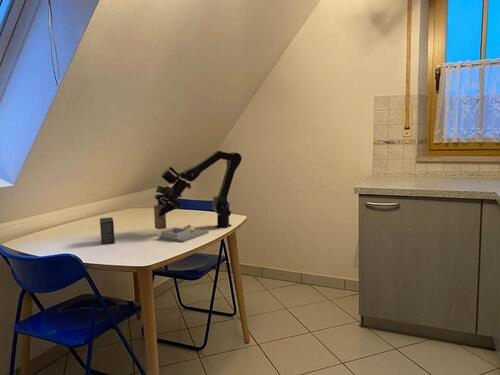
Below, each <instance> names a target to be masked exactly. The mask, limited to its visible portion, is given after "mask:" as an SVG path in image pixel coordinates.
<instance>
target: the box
mask: <svg viewBox="0 0 500 375" xmlns="http://www.w3.org/2000/svg"><path fill="white" fill-rule="evenodd" d="M113 219H114V218H113V217H112V216H111V217H102V218H101V217H100V218H99V227H100V228H99V229H100V241H101V246H102V245H103V246H104V245H113V244H115V243H116V242H115V241H116V240H115V226H114V220H113Z"/></svg>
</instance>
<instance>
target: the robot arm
mask: <svg viewBox="0 0 500 375" xmlns="http://www.w3.org/2000/svg"><path fill="white" fill-rule="evenodd" d="M242 159H243V156H242V155H241V154H240V153H238V152H226V151H225V152H224V151H222V150H216V151H215V152H214V153H212V154H211V155H209V156H208V157H207V158H205V159H203V160H202V161H201V162H199V163H197V164H196V165H194V166H190V167H188V168H185V169H184V170H183V171H181V172H177V171H176V169H174V168H173V167H172V166H169V167H168V168H167V169H165V170H163V172H162V173H161V175H160V178H162V179H163V180H164V181H165V182H167V183H168V184H169V185H170V184H173V185H172V186H171V187H170V186H168V185H165V186H162V185H157V187H156V190H155V192H156V193H157V194H155V195H154V197H153V198H154V199H155V200H156V201H157V205H164V207H163V208H162V210H161V212H160V213H159V216H162V215H164V214H166V215H167V214H168V213H170V212H172V211H174V210H176V209H178V210H181V208H182V207H183V203H182V202H181V201H179V199H178V198H182V194H183V192H184V191H186V189H187V190H189V189H191V188H192V186H191V182H194V181H195V180H196V179H198V177H199V176H200V175H201V173H203V172H204V171H205V170H207V169H208V168H209V167H210V166H211V167H212V166H213V165H214V164H215V163H217V162H218V161H219V160H224V161H225V160H226V168H225V169H226V170H225V173H224V176H223V180H222V182H221V186H220V189H219V192H218V195H217V196H213V201H212V202H211V205H212V206H211V207H212V210H214V211H215V213H216V215H217V217H216V218H217V219H216V222H217V223H216V224H217V225H215V226H214V227H216V228H222V229H223V228H224V229H226V228H229V227H231V226H232V223H231V224H230V216H231V213H232V212H231V210H230V209H228V194H229V191H230V188H231V185H232V182H233V178H234V175H235V172H236V170H237V169H238V167H239V166H240V164H241V162H242Z"/></svg>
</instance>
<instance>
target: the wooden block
mask: <svg viewBox="0 0 500 375" xmlns="http://www.w3.org/2000/svg"><path fill="white" fill-rule="evenodd" d="M163 207H164V205H158V204H156V205H153V215H154V216H153V218H154V229H156V230H165V229H167V213H166V214H164V215H162V216H159V213H160V212H161V210H162V208H163Z"/></svg>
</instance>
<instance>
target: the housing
mask: <svg viewBox="0 0 500 375" xmlns="http://www.w3.org/2000/svg"><path fill="white" fill-rule="evenodd" d="M160 233H161V234H160V236H159V237H158V239H159V240H165V241H170V242H171V241H172V242H177V243H185V242H187V241H190V240H193V239H196V238H198V237H201V236H203V235H204V236H205V235H206V234H209V230H206V229H204V230H203V229H198V228H195V226H192V225H191V224H187V226H183V228H181V227H176V226H175V227H172V228H168V229H166V230H165V229H164V230H162V231H160Z"/></svg>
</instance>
